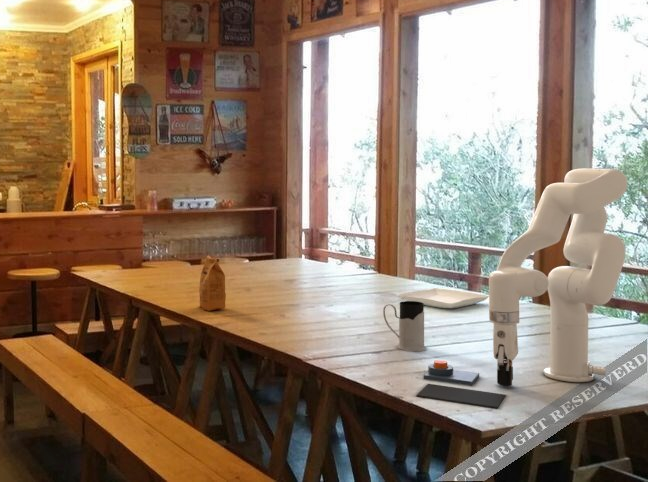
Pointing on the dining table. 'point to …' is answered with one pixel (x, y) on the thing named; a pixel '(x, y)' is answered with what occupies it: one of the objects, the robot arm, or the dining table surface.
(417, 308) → the glass holder
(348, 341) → the dining table surface
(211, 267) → the coffee package
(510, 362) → the battery
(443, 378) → the grey button base
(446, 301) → the square plate
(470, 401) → the desk pad
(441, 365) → the button
